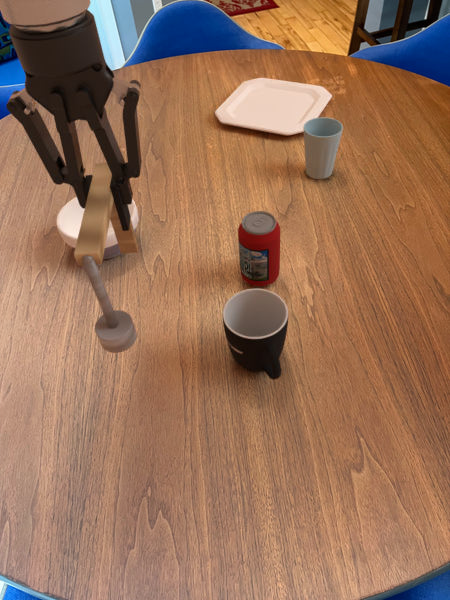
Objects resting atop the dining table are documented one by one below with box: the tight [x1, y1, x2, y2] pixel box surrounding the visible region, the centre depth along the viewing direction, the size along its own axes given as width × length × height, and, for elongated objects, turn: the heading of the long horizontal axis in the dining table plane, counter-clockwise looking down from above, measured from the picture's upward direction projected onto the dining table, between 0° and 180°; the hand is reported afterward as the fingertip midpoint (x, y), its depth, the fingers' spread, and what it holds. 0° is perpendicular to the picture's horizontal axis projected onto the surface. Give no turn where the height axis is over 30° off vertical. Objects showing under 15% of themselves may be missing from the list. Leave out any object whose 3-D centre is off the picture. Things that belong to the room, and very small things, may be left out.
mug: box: [222, 288, 289, 380], centre depth 68 cm, size 12×9×10 cm
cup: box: [303, 116, 344, 180], centre depth 98 cm, size 8×8×10 cm
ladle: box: [73, 162, 139, 354], centre depth 57 cm, size 18×4×14 cm, turn 3°
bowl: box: [55, 196, 139, 260], centre depth 89 cm, size 14×14×8 cm
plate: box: [214, 77, 333, 136], centre depth 120 cm, size 25×25×2 cm
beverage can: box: [237, 210, 281, 287], centre depth 79 cm, size 7×7×12 cm
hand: (114, 224), depth 60 cm, fingers closed on ladle, 2 cm apart
